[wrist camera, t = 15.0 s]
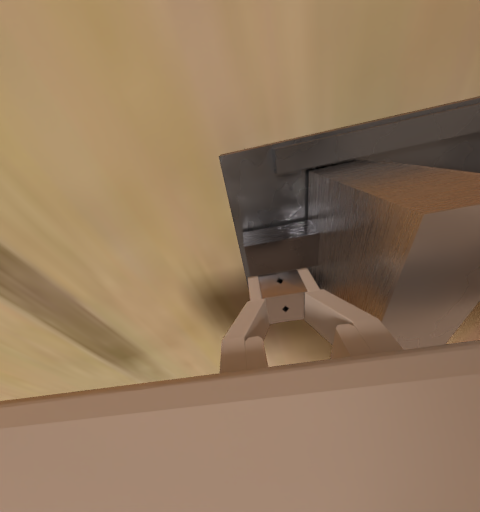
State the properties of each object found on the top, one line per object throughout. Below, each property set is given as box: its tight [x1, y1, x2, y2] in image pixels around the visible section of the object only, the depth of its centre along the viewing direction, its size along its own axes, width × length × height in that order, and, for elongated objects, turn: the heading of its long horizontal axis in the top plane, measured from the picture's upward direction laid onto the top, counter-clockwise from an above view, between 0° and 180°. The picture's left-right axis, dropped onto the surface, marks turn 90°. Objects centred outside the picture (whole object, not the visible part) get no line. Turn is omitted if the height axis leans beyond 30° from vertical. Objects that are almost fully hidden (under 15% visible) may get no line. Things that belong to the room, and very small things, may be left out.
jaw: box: [243, 160, 480, 350], centre depth 10 cm, size 9×8×7 cm
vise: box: [219, 96, 480, 288], centre depth 10 cm, size 12×24×9 cm, turn 101°
